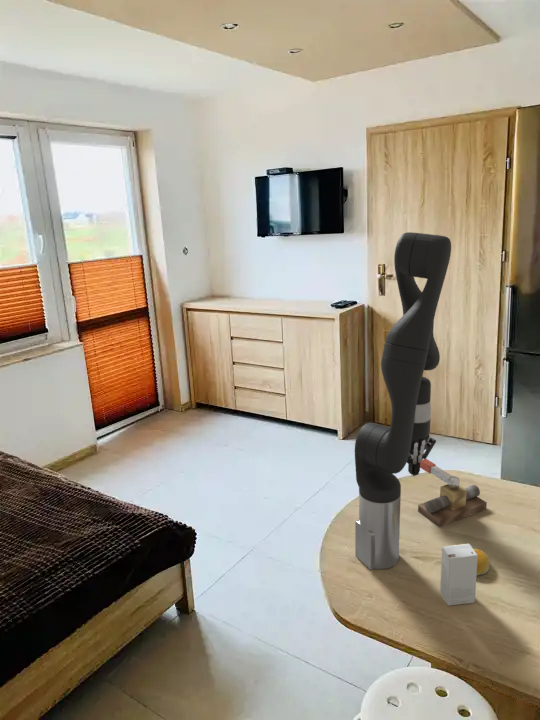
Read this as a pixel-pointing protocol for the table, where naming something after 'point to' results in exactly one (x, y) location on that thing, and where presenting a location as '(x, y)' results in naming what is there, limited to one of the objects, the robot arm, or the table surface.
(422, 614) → the table surface
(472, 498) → the valve board
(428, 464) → the valve lever
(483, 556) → the bread roll
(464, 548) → the skincare box
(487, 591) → the table surface
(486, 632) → the table surface
